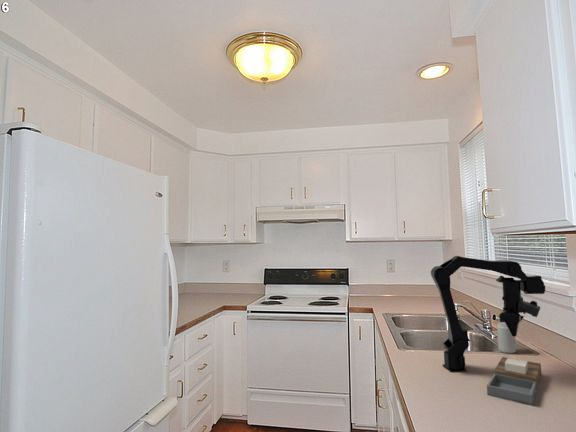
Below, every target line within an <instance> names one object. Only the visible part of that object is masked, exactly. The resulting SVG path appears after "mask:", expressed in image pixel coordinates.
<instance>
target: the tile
mask: <svg viewBox="0 0 576 432" xmlns="http://www.w3.org/2000/svg"><path fill="white" fill-rule="evenodd" d="M506 358H507V360H506V362H505V370H506V371H512V372H517V373H522V374H526V372H527V370H528V362H529V361H528V360H523V359H517V358H516V359H517V360H516V359H515V358H511V359H510V357H506ZM522 360H523V361H522Z"/></svg>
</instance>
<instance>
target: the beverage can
mask: <svg viewBox="0 0 576 432" xmlns="http://www.w3.org/2000/svg"><path fill="white" fill-rule="evenodd" d="M496 328H497V329H496V330H497V342H498V343H497V344H498V345H497V346H498V350H499V351H500V352H501V353H504V354H515V352H516V351H517V346H516V337H514V336H512V334H511V332H510V331H509V329H508V327H507V325H506V323H505V322H504V321H502V322H501V321H499V322H498V323H497V325H496Z"/></svg>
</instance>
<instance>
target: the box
mask: <svg viewBox="0 0 576 432" xmlns="http://www.w3.org/2000/svg"><path fill="white" fill-rule="evenodd" d="M486 394H487V396H491V397H494V398H499V399H503V400H507V401H511V402H516V403H519V404H523V405H529V406H533V404H534V402H535V397H536V395H537V391H536V382H534V381H529V380H524V379H519V378H514V377H509V376H504V375H499V374H495V373H493V375H492V376H491V377H490V380H488V383H487V385H486Z"/></svg>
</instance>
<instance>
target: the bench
mask: <svg viewBox="0 0 576 432" xmlns="http://www.w3.org/2000/svg"><path fill="white" fill-rule="evenodd" d="M507 358H508V357H504V356H502V357H501V358H500V360H499V362H498V364H497V365H496V367H495V368H494V370H493V372H494V373H495V374H499V375H504V376H509V377H514V378H519V379H524V380H529V381H534V382H536V392H537V391H538V388H539V384H540V381H541V379H542V378H541V377H542V365H541V363H538V362H534V361H528V370H527V372H526V374H522V373H517V372H512V371H506V370H505V362H506V360H507ZM509 358H510V357H509ZM510 359H512V358H510ZM516 360H518V359H517V358H516ZM521 360H522V361H524V360H523V359H521ZM494 373H493V374H494Z"/></svg>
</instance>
